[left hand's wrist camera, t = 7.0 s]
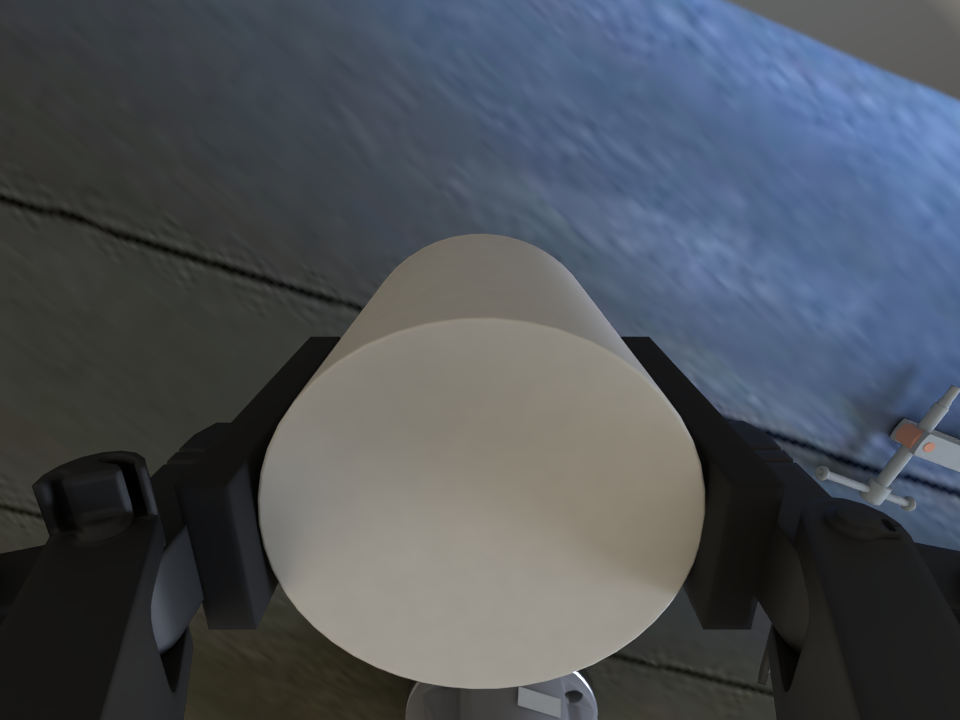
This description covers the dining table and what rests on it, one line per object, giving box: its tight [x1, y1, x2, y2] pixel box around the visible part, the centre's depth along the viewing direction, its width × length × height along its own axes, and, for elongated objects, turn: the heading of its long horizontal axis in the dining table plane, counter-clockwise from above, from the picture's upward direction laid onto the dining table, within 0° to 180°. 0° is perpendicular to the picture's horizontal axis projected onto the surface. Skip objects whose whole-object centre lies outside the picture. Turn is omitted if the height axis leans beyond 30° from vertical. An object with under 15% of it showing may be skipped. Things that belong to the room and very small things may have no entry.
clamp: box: [815, 385, 960, 511], centre depth 34 cm, size 15×2×10 cm
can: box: [258, 234, 705, 689], centre depth 12 cm, size 7×7×8 cm
